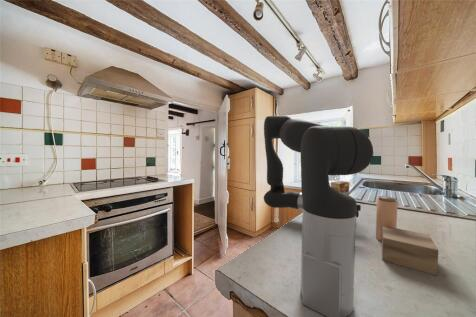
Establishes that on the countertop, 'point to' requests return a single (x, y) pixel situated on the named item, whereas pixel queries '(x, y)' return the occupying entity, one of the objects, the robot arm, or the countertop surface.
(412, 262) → the pedestal
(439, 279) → the countertop surface
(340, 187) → the candy box
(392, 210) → the canister
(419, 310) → the countertop surface
